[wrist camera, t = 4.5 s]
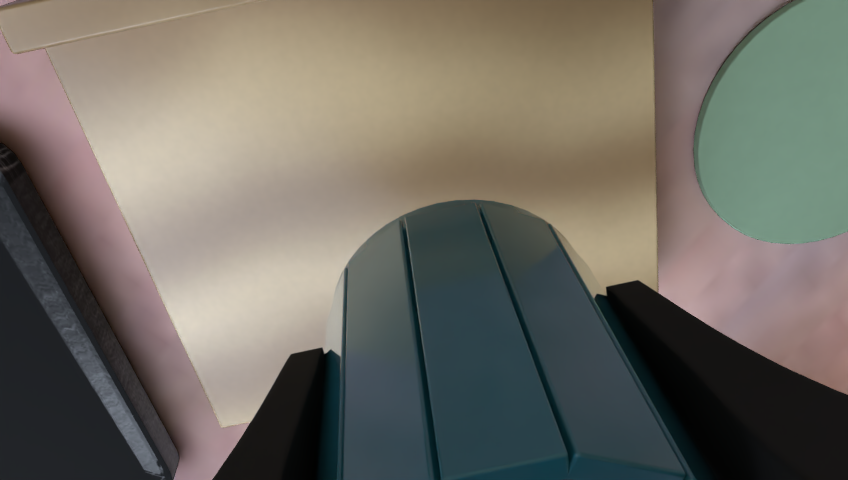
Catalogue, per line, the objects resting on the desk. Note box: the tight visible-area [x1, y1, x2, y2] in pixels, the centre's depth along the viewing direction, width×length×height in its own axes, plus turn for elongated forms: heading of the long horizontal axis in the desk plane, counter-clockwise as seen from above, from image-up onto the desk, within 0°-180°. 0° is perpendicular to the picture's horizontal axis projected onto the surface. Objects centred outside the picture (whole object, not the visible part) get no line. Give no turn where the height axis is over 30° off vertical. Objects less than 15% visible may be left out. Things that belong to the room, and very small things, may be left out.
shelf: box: [0, 0, 658, 428], centre depth 19 cm, size 14×15×5 cm
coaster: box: [693, 0, 848, 244], centre depth 22 cm, size 9×9×1 cm
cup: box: [316, 199, 717, 480], centre depth 11 cm, size 5×5×6 cm
